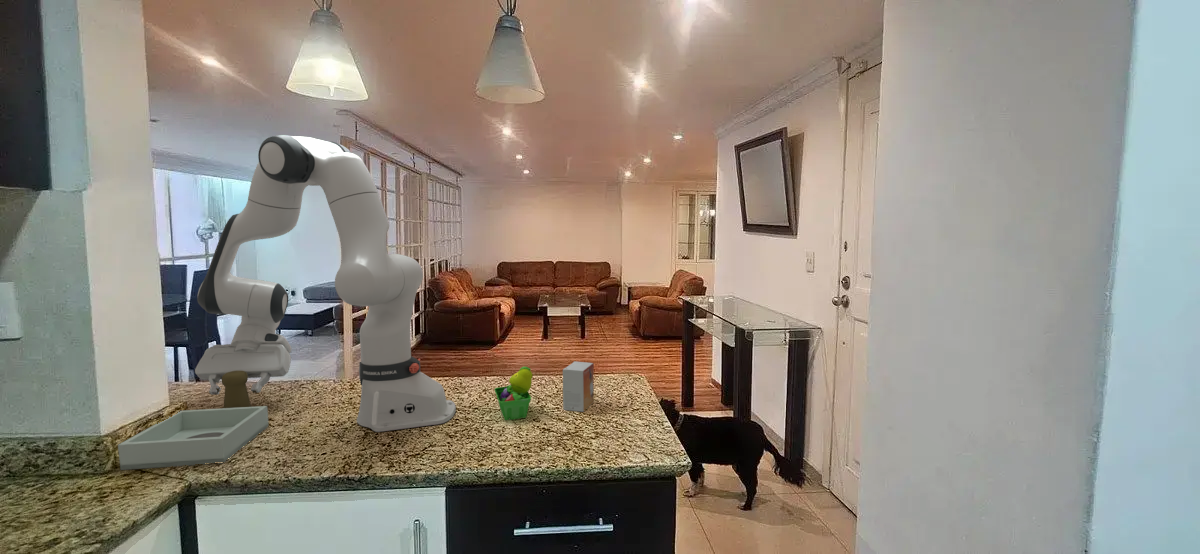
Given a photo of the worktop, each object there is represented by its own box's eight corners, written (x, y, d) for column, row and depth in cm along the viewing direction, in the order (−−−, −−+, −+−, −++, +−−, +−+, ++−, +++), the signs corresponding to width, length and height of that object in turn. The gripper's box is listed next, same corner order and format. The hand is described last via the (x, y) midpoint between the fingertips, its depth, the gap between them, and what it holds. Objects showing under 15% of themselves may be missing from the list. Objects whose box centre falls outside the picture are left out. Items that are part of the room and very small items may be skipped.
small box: (583, 412, 126) (583, 371, 125) (562, 410, 128) (562, 369, 127) (594, 402, 134) (594, 362, 133) (574, 399, 135) (574, 360, 134)
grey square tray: (268, 427, 118) (267, 406, 118) (224, 463, 100) (222, 438, 100) (182, 432, 115) (180, 410, 115) (120, 470, 98) (117, 444, 97)
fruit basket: (494, 406, 130) (493, 363, 129) (528, 403, 133) (528, 360, 132) (499, 423, 120) (498, 376, 118) (537, 418, 122) (536, 372, 121)
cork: (237, 421, 122) (233, 376, 121) (216, 419, 123) (212, 374, 122) (258, 411, 128) (255, 368, 127) (238, 410, 129) (234, 367, 128)
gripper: (201, 338, 129) (180, 388, 120) (289, 335, 132) (274, 384, 123) (213, 351, 134) (193, 400, 125) (298, 348, 137) (284, 396, 128)
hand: (234, 392), depth 124 cm, fingers open, 8 cm apart
